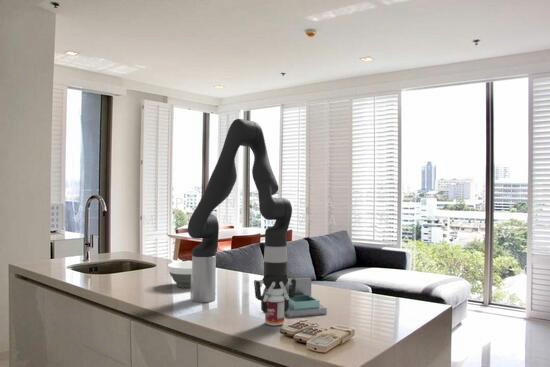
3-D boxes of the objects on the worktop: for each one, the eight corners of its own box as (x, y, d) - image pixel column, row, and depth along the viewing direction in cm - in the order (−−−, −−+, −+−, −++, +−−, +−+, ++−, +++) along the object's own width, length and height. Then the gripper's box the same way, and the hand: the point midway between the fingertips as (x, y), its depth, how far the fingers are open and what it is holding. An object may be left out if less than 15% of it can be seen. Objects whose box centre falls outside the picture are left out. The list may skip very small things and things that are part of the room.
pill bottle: (261, 323, 141) (261, 287, 141) (273, 319, 146) (274, 285, 146) (275, 327, 137) (276, 290, 137) (288, 322, 142) (288, 287, 142)
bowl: (158, 288, 192) (158, 266, 192) (183, 280, 210) (183, 260, 210) (196, 292, 185) (196, 269, 185) (219, 283, 203) (219, 262, 203)
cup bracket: (289, 317, 148) (289, 287, 148) (275, 307, 161) (275, 279, 162) (326, 313, 153) (326, 285, 153) (309, 304, 166) (310, 277, 166)
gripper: (257, 262, 136) (257, 316, 135) (300, 260, 141) (300, 313, 140) (250, 259, 143) (250, 310, 142) (291, 257, 148) (291, 307, 147)
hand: (274, 311), depth 141 cm, fingers closed on pill bottle, 6 cm apart
